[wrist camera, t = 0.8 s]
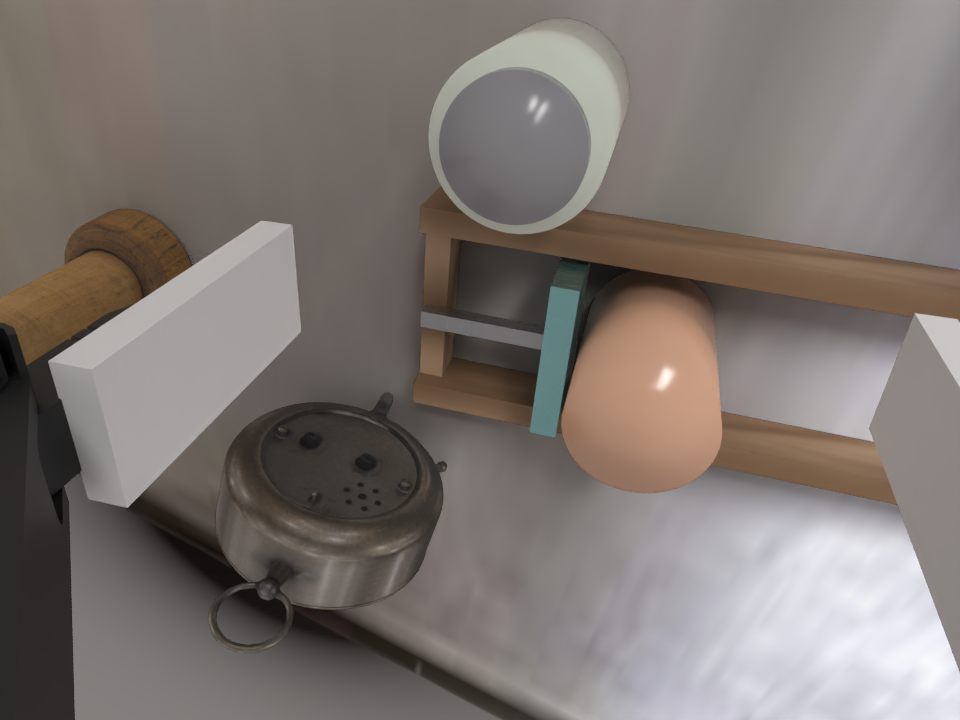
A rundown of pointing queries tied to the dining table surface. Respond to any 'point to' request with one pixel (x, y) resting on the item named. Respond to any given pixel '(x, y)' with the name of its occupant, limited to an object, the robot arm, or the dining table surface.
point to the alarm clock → (325, 509)
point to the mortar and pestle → (94, 279)
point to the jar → (530, 126)
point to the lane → (690, 257)
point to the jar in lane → (645, 385)
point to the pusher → (533, 338)
